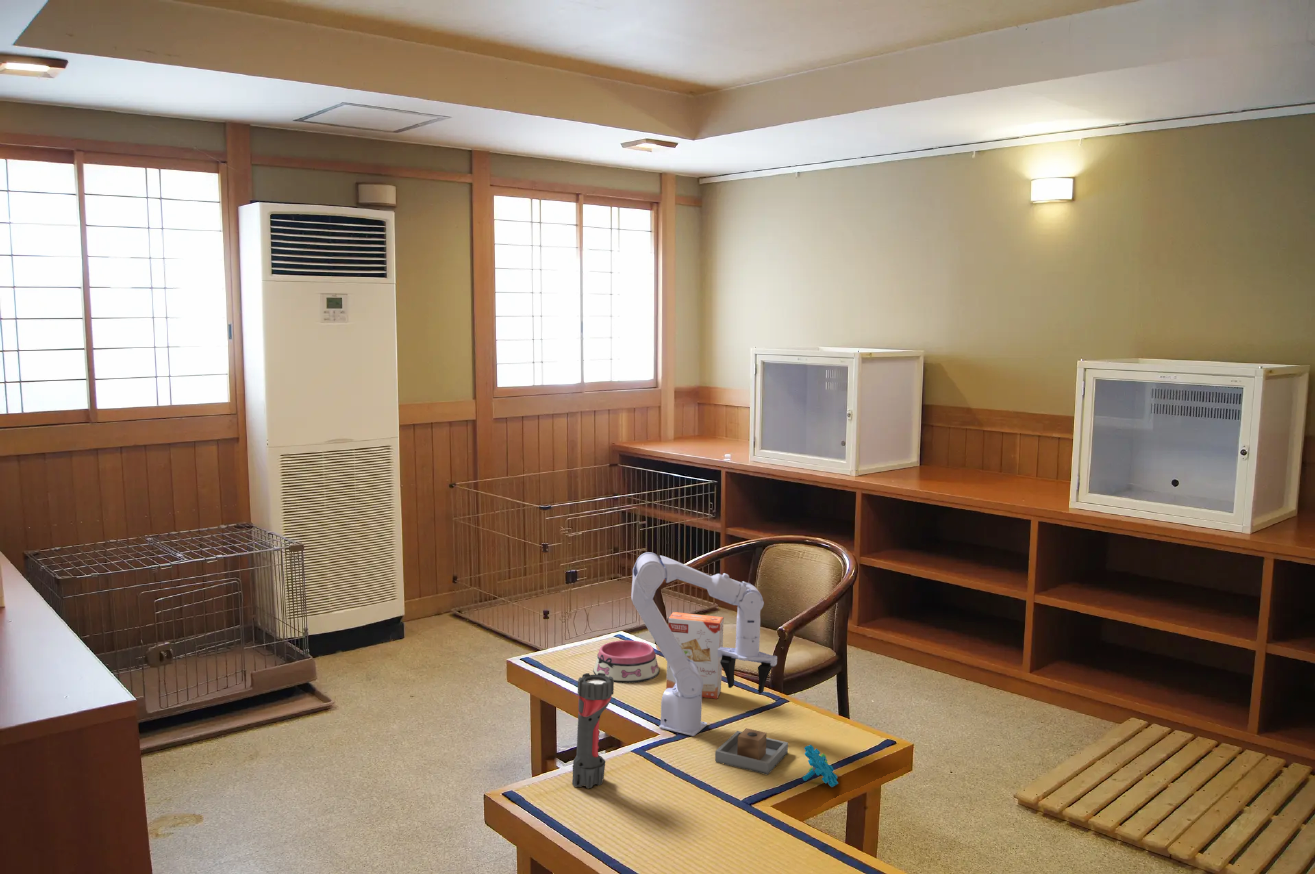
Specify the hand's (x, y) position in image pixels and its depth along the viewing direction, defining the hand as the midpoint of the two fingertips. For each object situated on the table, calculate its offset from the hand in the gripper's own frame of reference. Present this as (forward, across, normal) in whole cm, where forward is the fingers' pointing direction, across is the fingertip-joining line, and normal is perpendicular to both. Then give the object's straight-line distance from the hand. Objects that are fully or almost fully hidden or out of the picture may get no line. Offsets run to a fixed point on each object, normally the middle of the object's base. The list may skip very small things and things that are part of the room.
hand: (745, 689), depth 235 cm
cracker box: (+10, -19, +14) cm, 26 cm away
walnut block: (+9, +7, -16) cm, 19 cm away
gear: (+10, +24, -20) cm, 32 cm away
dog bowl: (+10, -42, +21) cm, 48 cm away
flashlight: (+10, -20, -42) cm, 47 cm away
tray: (+9, +7, -16) cm, 19 cm away
